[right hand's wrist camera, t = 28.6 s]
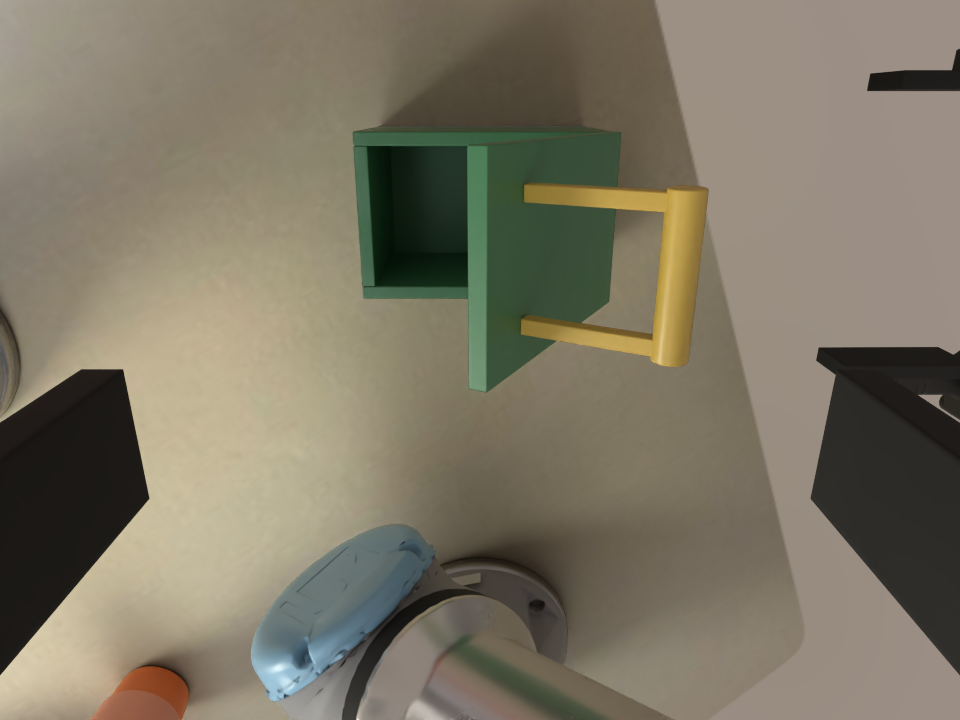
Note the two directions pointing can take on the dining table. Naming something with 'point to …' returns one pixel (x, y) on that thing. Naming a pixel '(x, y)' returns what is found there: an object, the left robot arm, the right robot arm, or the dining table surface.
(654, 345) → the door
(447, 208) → the chest
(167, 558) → the dining table surface
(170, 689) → the cup with straw
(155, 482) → the dining table surface
